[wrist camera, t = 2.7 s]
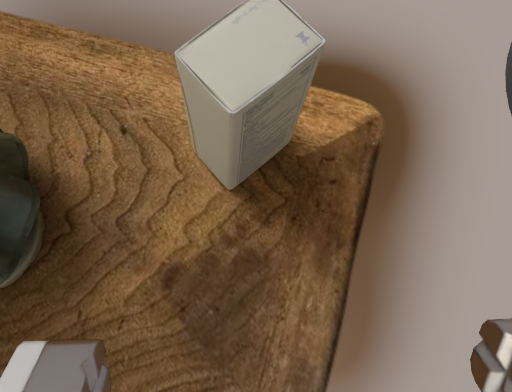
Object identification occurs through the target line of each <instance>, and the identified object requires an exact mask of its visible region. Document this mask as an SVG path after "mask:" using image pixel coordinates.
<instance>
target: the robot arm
mask: <svg viewBox="0 0 512 392" xmlns="http://www.w3.org/2000/svg"><path fill="white" fill-rule="evenodd" d="M479 334H480V336H481V338H482V339H483V340H482V341H481V342H480V343H479V344H478V345H477V346H475V347H474V349H473V352H472V355H471V359H470V361H471V370H472V374H473V377H474V379H475V382H476V384H477V385H478V387H479V388H480V390H481V392H512V318H511V319H495V320H487V321H486V322H485V323H483V324H482V326H481V329H480V332H479ZM105 353H106V351H105V347H104V343H103V340H101V339H82V340H50V341H24V342H22V343H21V344H20V345H19V346H18V347H17V348H16V350H15V352H14V354H13V355H12V357H11V359H10V361H9V363H8V365H7V367H6V368H5V370H4V372H3V374H2V376H1V378H0V392H111V376H110V371H109V367H107V366H106V365H105V364H104V363H103V361H104V357H105Z"/></svg>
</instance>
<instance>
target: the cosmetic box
mask: <svg viewBox="0 0 512 392" xmlns="http://www.w3.org/2000/svg"><path fill="white" fill-rule="evenodd" d="M325 43H326V40H325V39H323V38H322V37H321V36H320V35H319V34H318V33H317V32H316V31H315V30H314V29H313V28H312V27H311V26H310V25H309V24H308V23H307V22H306V21H305V20H304V19H303V18H302V17H300V15H298V14H297V13H296V12H295V11H294V10H293V9H292V8H291V7H290V6H289V5H288V4H287V3H286V2H284V1H283V0H245V1H244V2H242V3H241V4H239V5H238V6H237V7H235V8H234V9H232V10H231V11H229V12H228V13H227V14H225V15H224V16H223V17H221V18H220V19H219V20H217V21H215V22H214V23H213V24H212V25H210V26H209V27H207V28H206V29H204V30H203V31H202V32H200V33H199V34H198V35H197V36H195V37H194V38H192V39H191V40H190V41H188V42H187V43H185V44H184V45H183V46H182V47H180V48H179V49H178V50H176V52H175V58H176V63H177V68H178V73H179V79H180V84H181V89H182V95H183V100H184V105H185V110H186V115H187V121H188V126H189V131H190V137H191V142H192V148H193V151H194V152H195V153H196V155H197V156H198V157H199V158H200V159H201V160H202V162H203V163H204V164H205V165H206V166H207V167H208V168H209V169H210V171H211V172H212V173H213V174H214V175H215V176H216V177H217V178H218V179H219V180H220V181H221V183H222V184H223V185H224V186H225V187H226V188H227V189H228V190H232V189H233V188H235V187H236V186H237V185H238V184H240V183H241V182H242V181H244V180H245V179H246V178H247V177H249V176H250V175H251V174H252V173H253V172H255V171H256V170H257V169H258V168H260V167H261V166H262V165H263V164H264V163H266V162H267V161H268V160H269V159H270V158H272V157H273V156H274V155H275V154H276V153H278V152H279V151H280V150H281V149H282V148H283V147H284V146H286V145H287V144H288V143H289V142H290V140H291V137H292V134H293V131H294V128H295V126H296V123H297V120H298V117H299V115H300V112H301V109H302V106H303V104H304V101H305V98H306V95H307V92H308V90H309V87H310V84H311V82H312V79H313V76H314V73H315V70H316V68H317V65H318V62H319V59H320V57H321V54H322V51H323V48H324V46H325Z"/></svg>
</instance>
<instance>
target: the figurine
mask: <svg viewBox="0 0 512 392" xmlns="http://www.w3.org/2000/svg"><path fill="white" fill-rule="evenodd" d="M40 202H41V199H40V196H39V193H38V190H37V188H36V186H35V184H34V183H32V182H30V180H29V175H28V157H27V151H26V149H25V146H24V145H23V143H22V142H21V140H20V139H19V138H18V137H17V136H15V135H14V134H10V133H3V131H2V130H1V129H0V289H1V288H2V287H5V286H8V285H10V284H12V283H14V282H15V281H16V280H17V279H18V278H19V277H21V276H22V274H23V272H24V271H26V269H27V267H28V266H30V265H31V264H32V263H33V261H34V260H35V258H36V257H37V254H38V252H39V251H40V249H41V246H42V239H43V231H44V230H45V225H44V219H43V218H44V216H43V212H42V211H41V210H40V209H39V205H40Z"/></svg>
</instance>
